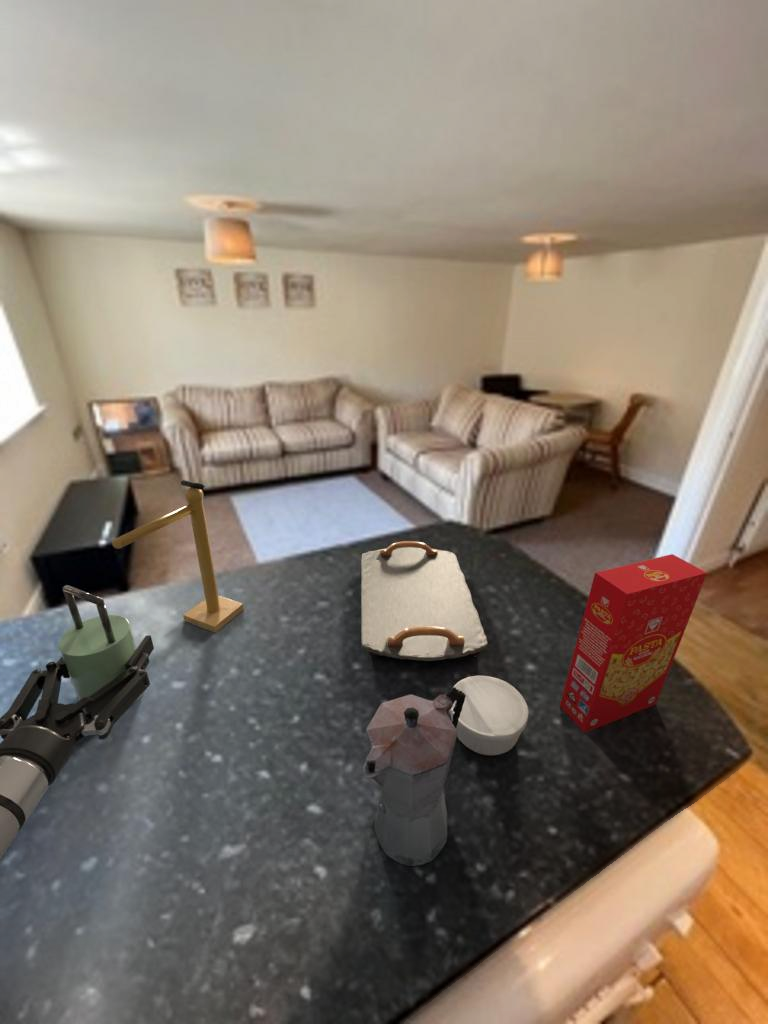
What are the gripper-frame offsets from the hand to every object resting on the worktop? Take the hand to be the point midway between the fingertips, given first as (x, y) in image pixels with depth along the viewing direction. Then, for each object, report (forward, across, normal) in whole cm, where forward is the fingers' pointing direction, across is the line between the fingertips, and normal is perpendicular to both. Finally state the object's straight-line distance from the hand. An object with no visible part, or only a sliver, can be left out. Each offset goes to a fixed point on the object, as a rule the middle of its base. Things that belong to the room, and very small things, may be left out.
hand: (119, 641), depth 72 cm
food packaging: (-6, +79, -7) cm, 79 cm away
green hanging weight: (-5, 0, -7) cm, 8 cm away
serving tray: (+20, +50, -7) cm, 54 cm away
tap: (+10, +7, -7) cm, 14 cm away
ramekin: (-11, +58, -7) cm, 59 cm away
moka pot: (-24, +46, -7) cm, 52 cm away
